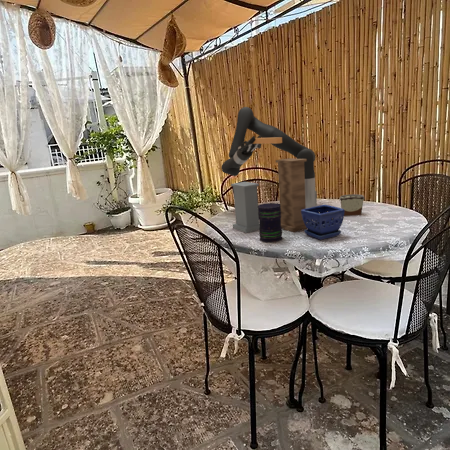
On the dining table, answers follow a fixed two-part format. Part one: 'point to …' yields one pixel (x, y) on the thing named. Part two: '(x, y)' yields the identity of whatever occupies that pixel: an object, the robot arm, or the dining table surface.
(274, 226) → the storage jar
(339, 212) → the flower pot
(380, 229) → the dining table surface
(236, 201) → the grey tall block
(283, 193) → the tall stand
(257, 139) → the orange rectangular block
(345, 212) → the food container
